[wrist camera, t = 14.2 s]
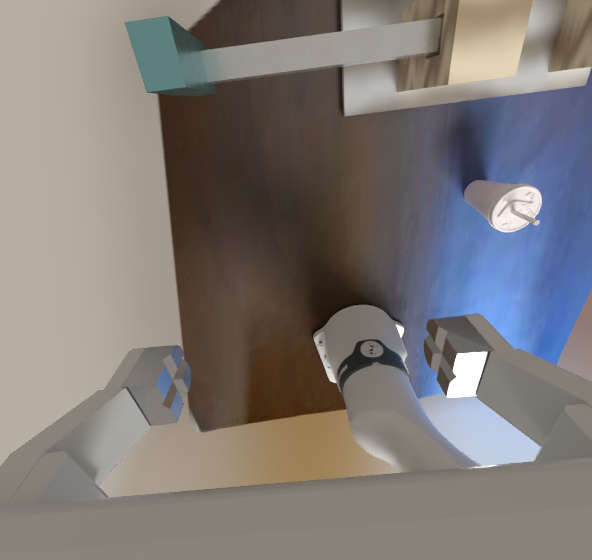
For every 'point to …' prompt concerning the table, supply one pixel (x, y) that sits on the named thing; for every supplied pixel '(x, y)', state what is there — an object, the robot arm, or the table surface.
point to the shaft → (266, 53)
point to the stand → (471, 51)
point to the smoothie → (504, 203)
